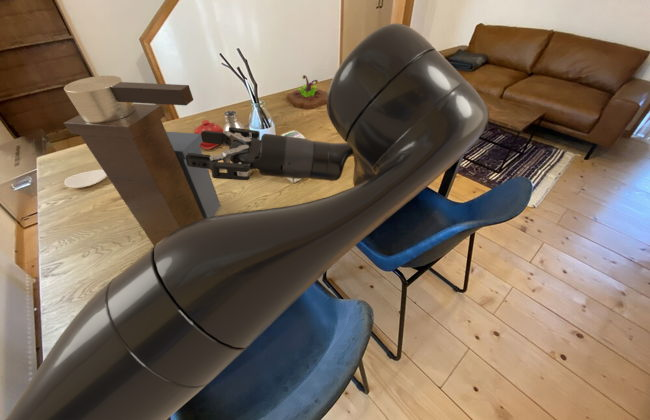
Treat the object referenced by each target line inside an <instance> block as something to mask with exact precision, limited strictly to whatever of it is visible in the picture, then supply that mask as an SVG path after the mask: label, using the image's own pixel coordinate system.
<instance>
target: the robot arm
mask: <svg viewBox="0 0 650 420" xmlns="http://www.w3.org/2000/svg"><path fill="white" fill-rule="evenodd" d="M325 105H326V112H327V115H328V118H329V121H330V122H331V124H332V126H333V128H334V129H335V131H336V132H337V133H338V134H339V137H341V139H343V141H344V142H325V141H319V140H318V141H317V140H310V139H307V138H305V139H303V138H297V137H289V136H281V135H282V134H271V133H262V135H261V133H260V131H259V130H254V129H248V128H245V129H241V128H234V127H229V131H223V133H222V132H215V131H206V130H203V131H202V133H201V137H202V141H203V142H204V143H212V144H219V145H224V146H227V147H230V148H228V149H225V150H223V151H222V152H221V153H219V154H214V155H210V154H206V153H205V154H204V153H202V154H195V153H188V154H187V155H186V161H187V165H188V166H190V167H197V168H206V169H208V170H210V171H211V178H212V179H219V180H235V181H249V180H250V179H251V174H250V170H251V169H254V170H258V171H259V175H261V176H266V177H274V178H275V177H276V178H285V179H287V178H295V179H302V180H304V179H309V180H310V179H311V180H319V181H330V182H335V181H338V180H340V178H341V177H342V174H343V171H344V169H345V165H346V162H347V160H348V159H349V158H350V157H353V162H354V167H353V176H352V177H353V178H352V184H353V186H352V187H350V188H347V189H344V190H342V191H340V192H336V193H335V194H332V195H329V196H326V197H322V198H318V199H314V200H309V201H306V202H302V203H298V204H292V205H286V206H279V207H269V208H262V209H255V210H247V211H239V212H231V213H226V214H220V215H214V217H209V218H205V219H201V220H198V221H194V222H192V223H189V224H187V225H184V226H182V227H180V228H178V229H177V230H175V231H173V232H172V233H170V234H169V235H168V236H166V237H165V238H164V239H162V240H161V241H160V242H158V243H157V244H156V245H155V246H154V245H152V247H151V248H149V249H148V250H146V252H145V253H143V254H141V255H140V256H139V257H138V258H137V259H136V260H134V261H133V262H132V263H131V264H129V265H128V266H127V267H126V268H125V269H123V270H122V271H121V272H119V273H118V274H117V275H116V276H115V277H113V278H112V279H111V280H110V281H108V282H107V283H106V284H105V285H104V286H102V288H100V290H98V291H97V292H96V293H95V294H94V295H93V296H92V297H91V298H90V299H88V301H87V302H86V304H85V305H84V306H83V307H82V308H81V310H80V311H79V312H78V313H77V314H76V316H75V317H74V318H73V320H72V321H71V322H70V323H69V324H68V325H67V327H66V328H65V330H64V331H62V334H61V335H60V336H59V338H58V339H57V340H56V341H55V343H54V345H53V346H52V348H51V349H50V351H49V352H48V353H47V355H46V356H45V358H44V359H43V361H42V362H41V363H40V366H39V367H38V368H37V370H36V372H35V373H34V375H33V376H32V378H31V379H30V381H29V383H28V384H27V386H26V387H25V389H24V391H23V392H22V394H21V395H20V397H19V398H18V400H17V401H16V403H15V404H14V405H13V407H12V408H11V410H10V411H9V413H8V415H7V417H6V418H5V419H4V420H168V419H169V418H171V417H172V416H173V415H174V414H175V413H176V412H177V411H179V410H180V409H181V408H182V407H183V406H185V404H186V403H188V402H189V401H191V399H193V398H194V397H195V396H196V395H198V393H200V392H201V391H202V390H203V389H205V387H206V386H208V385H209V384H210V383H211V382H212V381H214V380H215V378H217V377H218V376H219V375H220V374H221V373H223V371H224V370H225V369H227V368H228V366H229V365H231V364H232V363H233V362H234V361H235V360H236V359H237V358H238V357H239V356H240V355H242V354H243V353H244V352H245V351H246V350H247V349H248V348H249V347H250V346H252V344H253V343H255V341H257V340H258V338H259V337H261V336H262V334H263V333H265V332H266V331H267V329H268V328H270V327H271V325H272V324H274V322H275V321H277V320H278V319H279V318H280V317H281V316H282V315H283V313H285V312H286V311H287V310H288V309H289V308H290V307H291V306H292V305H293V304H294V303H295V302H297V300H298V299H299V298H301V296H302V295H303V294H305V293H306V292H307V290H308V289H310V288H311V286H313V285H314V284H315V283H316V282H317V281H318V280H319V279H320V278H321V277H322V276H324V274H325V273H326V272H328V271H329V269H331V268H332V267H333V266H334V265H335V264H336V263H337V262H339V261H340V260H341V258H343V257H344V256H345V255H346V254H348V252H350V251H351V250H352V249H353V248H355V246H356V245H358V244H359V243H360V242H362V241H363V240H364V239H365V238H366V237H367V236H369V235H370V234H371V233H372V232H373V231H375V230H376V229H377V228H378V227H380V226H381V225H382V224H384V223H385V222H386V221H387V220H389V219H390V218H391V217H392V216H394V214H396V213H397V212H398V211H399V210H401V209H402V208H403V207H404V206H405V205H406V204H408V203H409V202H410V201H411V200H413V199H414V198H415V197H417V195H419V194H420V193H421V192H423V191H424V190H425V189H426V188H427V187H429V186H430V185H432V183H434V182H435V181H436V180H437V179H438V178H439V177H440V176H442V175H443V174H444V173H445V172H447V170H449V169H450V168H451V167H452V166H453V165H454V164H455V163H457V162H458V161H459V160H460V159H462V158H463V156H464V155H466V154H467V152H469V150H471V148H472V147H473V146H474V145H475V144H476V143H477V141H478V140H479V139H480V137H481V136H482V135H483V133H484V131H485V130H486V128H487V125H488V124H489V121H490V111H489V107H488V105H487V104H486V102H485V101H484V99H483V98H482V97H481V94H479V92H478V91H477V90H476V89H475V88H474V87H473V86H472V84H471V83H470V82H469V81H468V80H466V78H465V77H464V76H463V75H462V74H461V73H460V72H459V71H458V70H457V69H456V68H455V67H454V66H453V65H452V64H451V63H450V62H449V61H448V59H446V57H445V56H444V55H442V54H441V53H440V52H439V50H436V47H435V46H433V45H432V43H431V42H429V40H428V39H426V37H424V36H423V35H422V34H420V33H419V32H418V31H416V29H414V28H412V27H410V26H409V25H405V24H402V23H399V22H398V23H388V24H386V25H382V26H381V27H378V28H377V29H375V30H374V31H372V32H371V33H369V34H368V35H367V36H366V37H364V38H363V39H362V40H360V42H359V43H358V44H357V45H355V47H354V48H352V50H351V51H350V52H349V53H348V55H347V56H346V57H345V58H344V59H343V61H342V62H341V64H340V65H339V67H338V68H337V70H336V72H335V73H334V76H333V78H332V80H331V82H330V84H329V88H328V91H327V103H326V104H325ZM238 133H240V134H241V135H240V134H238ZM260 136H261V137H260ZM225 170H226V172H225ZM223 171H224V172H223Z"/></svg>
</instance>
